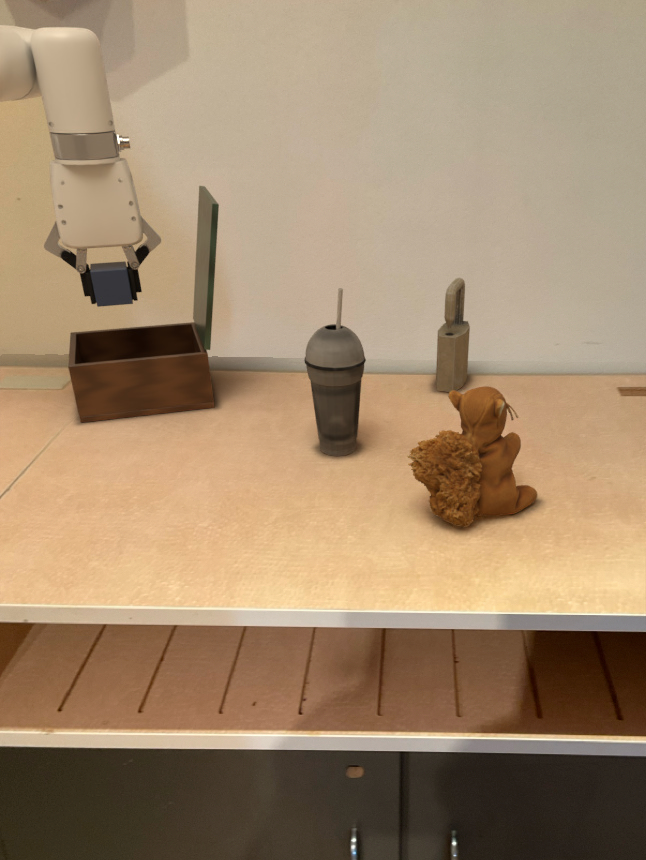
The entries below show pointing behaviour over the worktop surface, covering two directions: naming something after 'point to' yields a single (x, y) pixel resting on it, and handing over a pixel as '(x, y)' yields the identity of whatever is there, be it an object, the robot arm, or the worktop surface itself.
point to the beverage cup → (336, 384)
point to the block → (111, 283)
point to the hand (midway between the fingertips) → (114, 298)
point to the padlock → (453, 341)
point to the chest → (139, 371)
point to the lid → (205, 265)
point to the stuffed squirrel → (473, 462)
